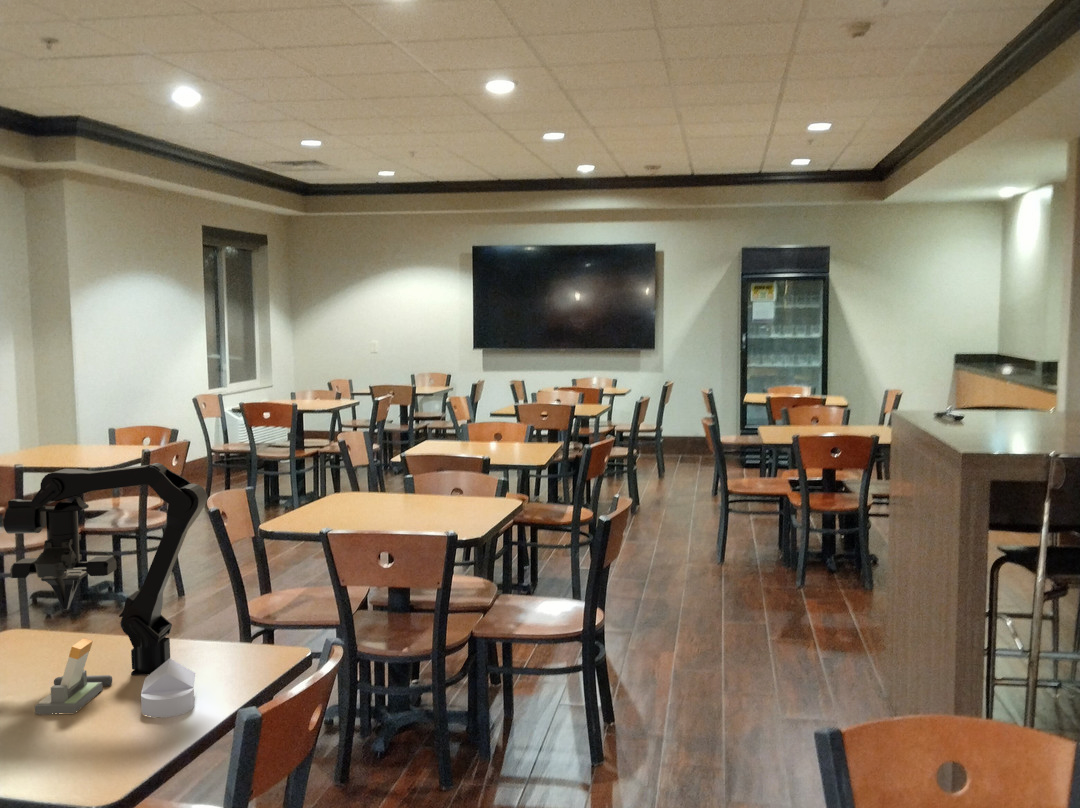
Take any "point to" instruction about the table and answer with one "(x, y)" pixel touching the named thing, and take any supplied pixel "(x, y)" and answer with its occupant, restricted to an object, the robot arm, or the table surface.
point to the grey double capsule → (91, 679)
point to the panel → (68, 697)
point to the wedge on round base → (168, 691)
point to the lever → (76, 664)
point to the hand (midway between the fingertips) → (66, 609)
